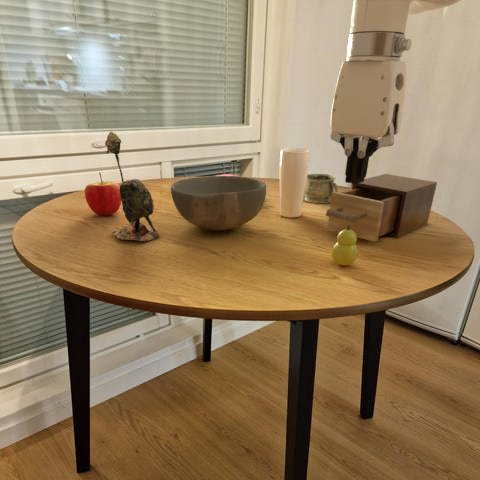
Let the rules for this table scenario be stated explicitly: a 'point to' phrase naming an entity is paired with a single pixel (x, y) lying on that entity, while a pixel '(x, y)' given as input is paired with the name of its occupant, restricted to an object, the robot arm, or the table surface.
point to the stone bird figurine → (132, 201)
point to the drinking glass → (293, 180)
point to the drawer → (364, 212)
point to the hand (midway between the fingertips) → (354, 181)
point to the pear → (345, 247)
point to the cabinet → (405, 199)
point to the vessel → (319, 188)
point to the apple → (103, 197)
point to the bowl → (218, 200)
